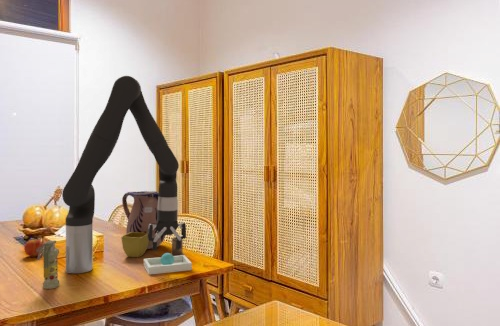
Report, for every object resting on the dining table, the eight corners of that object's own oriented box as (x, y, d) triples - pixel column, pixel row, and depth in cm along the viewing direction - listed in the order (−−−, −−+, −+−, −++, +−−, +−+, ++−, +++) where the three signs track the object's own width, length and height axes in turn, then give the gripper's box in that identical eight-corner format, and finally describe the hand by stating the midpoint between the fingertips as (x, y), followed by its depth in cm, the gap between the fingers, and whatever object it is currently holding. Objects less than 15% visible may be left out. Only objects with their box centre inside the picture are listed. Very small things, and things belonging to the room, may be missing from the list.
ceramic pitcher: (157, 253, 181) (157, 195, 179) (111, 250, 184) (111, 193, 183) (171, 243, 198) (171, 190, 197) (129, 241, 201) (129, 189, 200)
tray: (148, 274, 152) (148, 267, 152) (143, 265, 163) (143, 258, 163) (191, 269, 158) (191, 263, 158) (184, 261, 169) (184, 255, 169)
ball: (162, 268, 157) (162, 255, 157) (159, 264, 162) (159, 252, 161) (175, 267, 159) (175, 254, 159) (172, 263, 163) (172, 251, 163)
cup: (171, 259, 172) (171, 240, 172) (168, 255, 178) (168, 237, 177) (185, 257, 174) (186, 239, 174) (182, 254, 180) (182, 236, 179)
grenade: (61, 283, 141) (60, 239, 140) (52, 291, 134) (51, 244, 133) (42, 283, 140) (41, 239, 140) (32, 290, 134) (31, 244, 133)
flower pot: (140, 259, 171) (140, 237, 171) (120, 257, 173) (120, 236, 172) (149, 253, 180) (150, 233, 179) (131, 252, 181) (131, 231, 181)
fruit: (20, 257, 171) (20, 238, 170) (34, 253, 177) (33, 234, 177) (34, 259, 169) (34, 239, 168) (47, 255, 175) (47, 236, 175)
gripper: (150, 210, 153) (149, 254, 154) (188, 209, 159) (187, 251, 160) (146, 207, 160) (146, 249, 161) (183, 206, 166) (182, 246, 166)
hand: (166, 250), depth 160 cm, fingers open, 8 cm apart
